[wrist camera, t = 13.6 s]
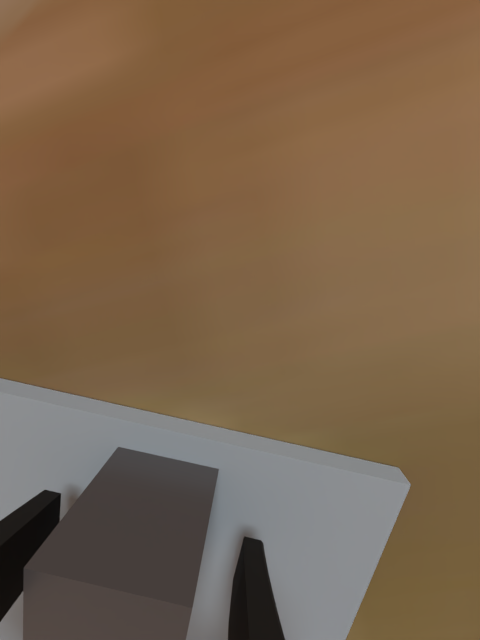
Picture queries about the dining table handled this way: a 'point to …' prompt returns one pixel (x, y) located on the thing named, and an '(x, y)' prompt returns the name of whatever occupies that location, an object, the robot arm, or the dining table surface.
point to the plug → (123, 554)
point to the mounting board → (218, 503)
